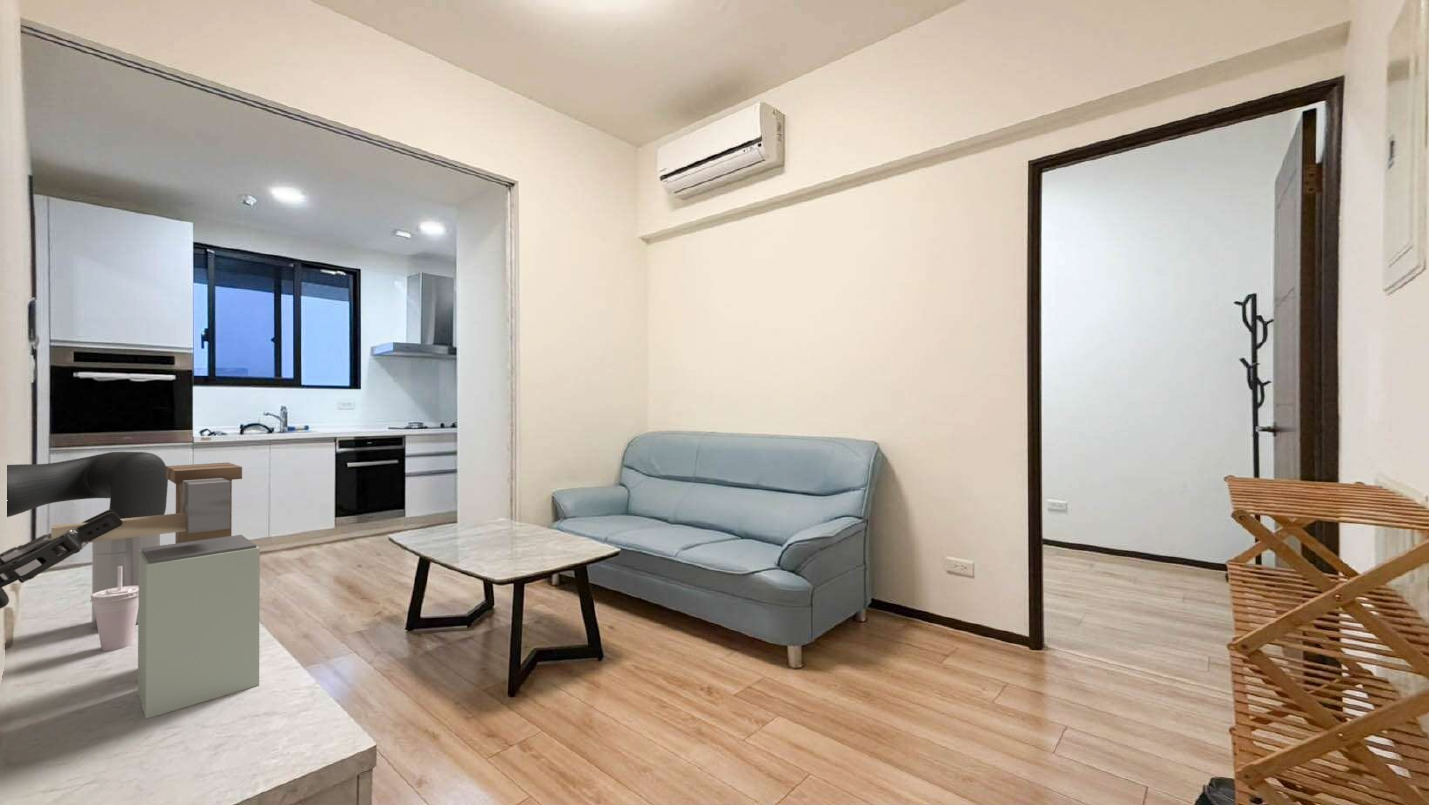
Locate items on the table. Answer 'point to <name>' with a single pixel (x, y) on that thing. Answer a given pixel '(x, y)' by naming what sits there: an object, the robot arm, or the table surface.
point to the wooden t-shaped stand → (195, 473)
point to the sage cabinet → (197, 622)
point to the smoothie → (116, 614)
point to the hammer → (199, 513)
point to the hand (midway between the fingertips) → (117, 516)
